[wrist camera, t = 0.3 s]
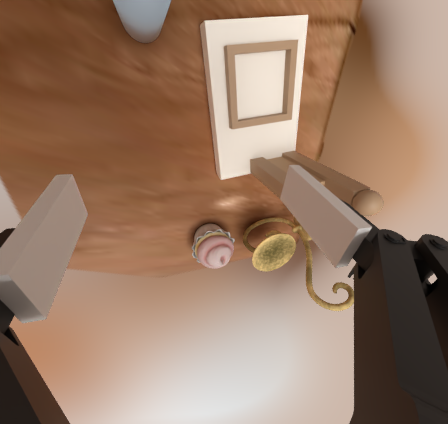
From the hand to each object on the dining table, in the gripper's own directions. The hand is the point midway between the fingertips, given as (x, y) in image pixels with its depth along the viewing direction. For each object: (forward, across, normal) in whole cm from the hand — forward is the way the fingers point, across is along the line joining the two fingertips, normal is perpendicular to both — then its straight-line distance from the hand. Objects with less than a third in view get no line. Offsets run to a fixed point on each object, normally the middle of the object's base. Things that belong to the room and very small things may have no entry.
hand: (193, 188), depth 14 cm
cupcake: (+23, +6, -26) cm, 36 cm away
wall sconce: (+24, +19, -25) cm, 39 cm away
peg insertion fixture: (+26, +14, 0) cm, 29 cm away
